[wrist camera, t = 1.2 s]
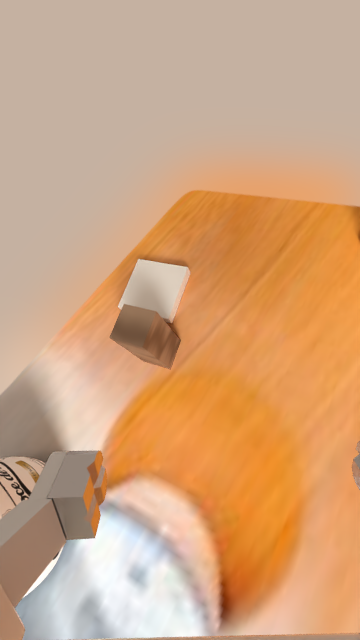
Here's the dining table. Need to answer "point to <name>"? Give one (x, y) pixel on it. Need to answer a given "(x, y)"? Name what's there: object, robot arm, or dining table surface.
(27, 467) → the milk container
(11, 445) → the dining table surface
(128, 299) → the off-white board
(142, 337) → the walnut block
